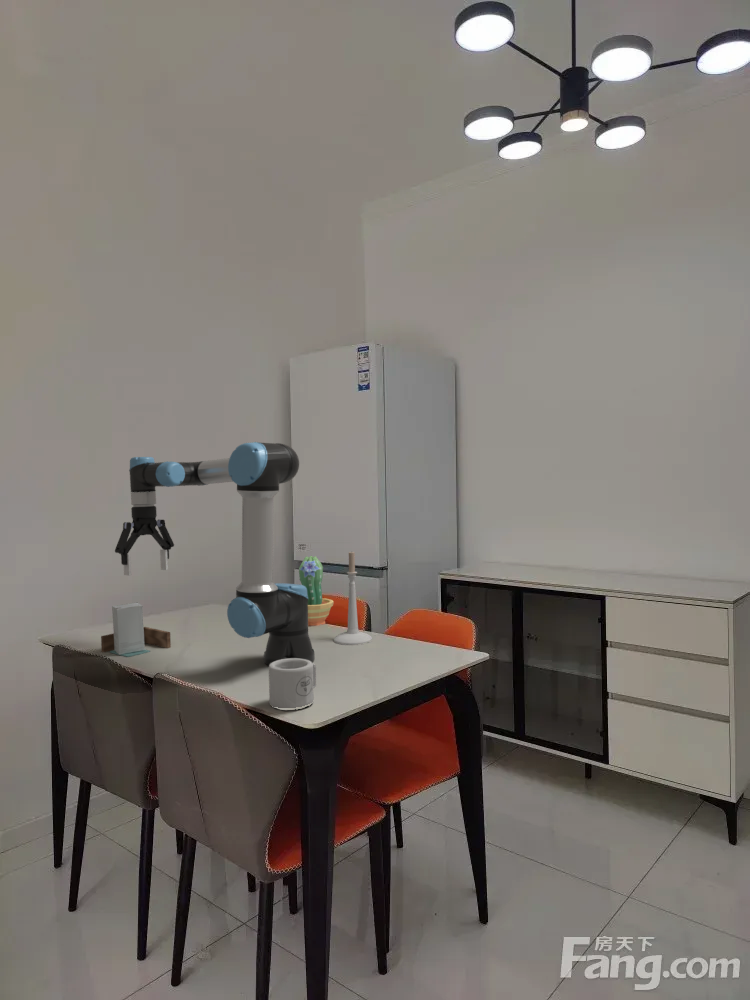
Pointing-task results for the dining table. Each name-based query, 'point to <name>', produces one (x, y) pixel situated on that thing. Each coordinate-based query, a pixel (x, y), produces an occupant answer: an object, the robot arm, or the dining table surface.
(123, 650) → the skincare box
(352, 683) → the dining table surface
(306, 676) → the mug
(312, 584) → the potted cactus
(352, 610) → the candlestick
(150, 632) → the wooden corner bracket
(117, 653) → the pad
